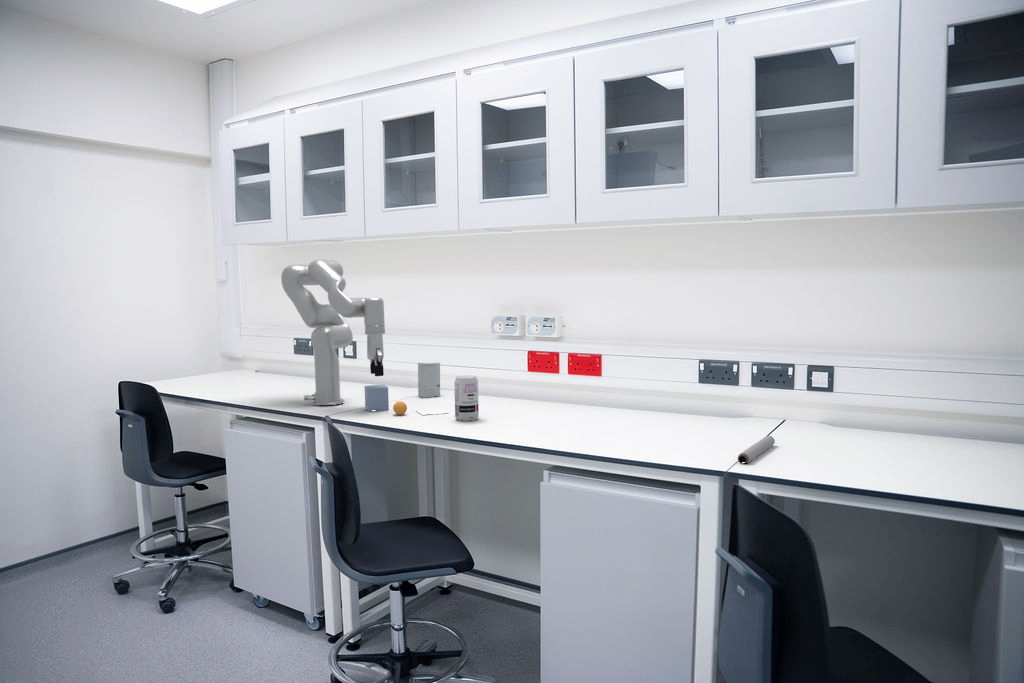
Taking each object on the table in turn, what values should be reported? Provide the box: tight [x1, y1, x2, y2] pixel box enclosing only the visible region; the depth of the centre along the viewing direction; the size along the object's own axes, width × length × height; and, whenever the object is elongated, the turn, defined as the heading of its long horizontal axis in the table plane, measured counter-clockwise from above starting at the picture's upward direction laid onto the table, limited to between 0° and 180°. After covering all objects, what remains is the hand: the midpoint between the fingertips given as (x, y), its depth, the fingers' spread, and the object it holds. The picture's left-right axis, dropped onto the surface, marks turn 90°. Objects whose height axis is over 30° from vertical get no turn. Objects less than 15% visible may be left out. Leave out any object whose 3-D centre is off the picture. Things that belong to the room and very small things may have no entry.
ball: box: [392, 400, 408, 416], centre depth 242 cm, size 5×5×5 cm
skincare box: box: [417, 361, 441, 399], centre depth 283 cm, size 8×6×15 cm
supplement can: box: [454, 375, 479, 422], centre depth 232 cm, size 8×8×15 cm
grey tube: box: [737, 435, 776, 464], centre depth 180 cm, size 3×3×25 cm
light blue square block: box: [364, 384, 390, 412], centre depth 254 cm, size 8×8×9 cm
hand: (377, 374), depth 253 cm, fingers open, 9 cm apart
